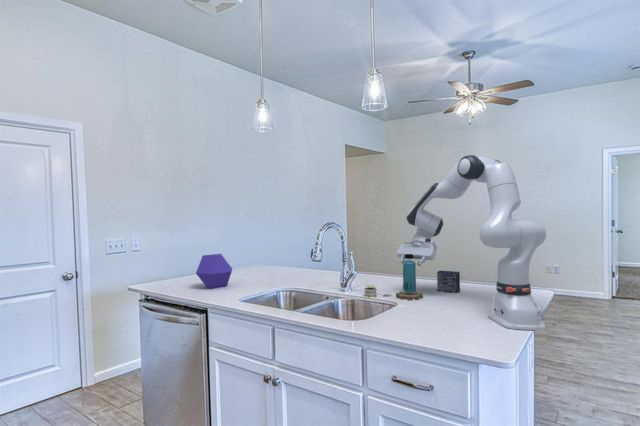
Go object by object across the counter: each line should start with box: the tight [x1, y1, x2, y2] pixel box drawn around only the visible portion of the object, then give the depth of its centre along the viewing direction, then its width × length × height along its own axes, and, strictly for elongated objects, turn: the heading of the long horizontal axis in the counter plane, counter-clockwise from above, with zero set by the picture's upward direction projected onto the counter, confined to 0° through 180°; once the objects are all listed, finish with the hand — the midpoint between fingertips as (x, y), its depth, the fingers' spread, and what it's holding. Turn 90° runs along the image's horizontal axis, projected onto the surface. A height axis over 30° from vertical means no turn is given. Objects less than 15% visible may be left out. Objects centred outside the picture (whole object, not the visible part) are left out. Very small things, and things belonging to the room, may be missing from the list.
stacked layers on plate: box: [363, 284, 378, 298], centre depth 196 cm, size 10×9×6 cm
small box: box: [436, 270, 461, 294], centre depth 205 cm, size 11×6×10 cm, turn 58°
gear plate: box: [395, 291, 424, 301], centre depth 192 cm, size 13×13×2 cm
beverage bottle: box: [402, 254, 417, 292], centre depth 192 cm, size 6×7×20 cm
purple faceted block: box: [195, 253, 233, 290], centre depth 227 cm, size 22×20×20 cm
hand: (410, 264), depth 193 cm, fingers open, 8 cm apart
